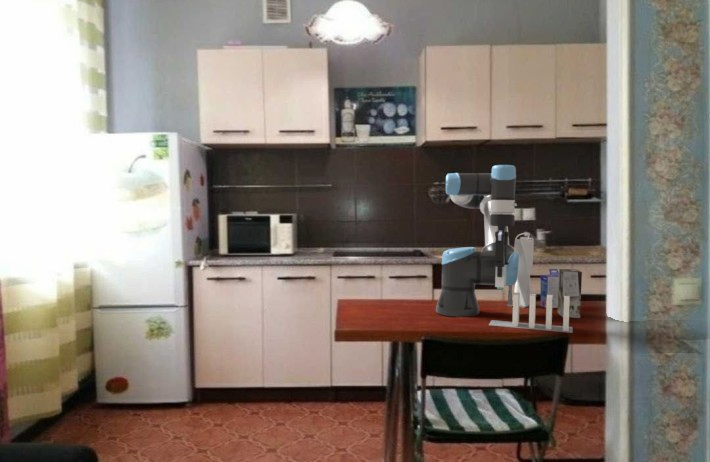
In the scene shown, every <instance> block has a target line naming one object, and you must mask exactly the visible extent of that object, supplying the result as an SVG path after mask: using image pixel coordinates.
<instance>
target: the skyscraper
mask: <svg viewBox="0 0 710 462" xmlns="http://www.w3.org/2000/svg"><path fill="white" fill-rule="evenodd" d="M522 235H527V237H526V236H522ZM530 235H531V234H530V233H529V232H522V233H519V234H517V235H516V237H515V238H514V246H513V247H514V248H513V250H514V252H516V253H519V265H518V274H517V281H516V283H515V284H514V290H513V285H508V290H507V291H508V292H507V293H508V294H507V304H506V307H512V306H513V294H514V293H520V300H519V309H520V308H521V309H526V308H528V307H529V306H530V294H532V285H531V284H532V283H531V273H532V269H533V263H534V253H535V252H534V248H535V246H534V244H535V241H534V238H533V237H530ZM518 237H519V239H518Z"/></svg>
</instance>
